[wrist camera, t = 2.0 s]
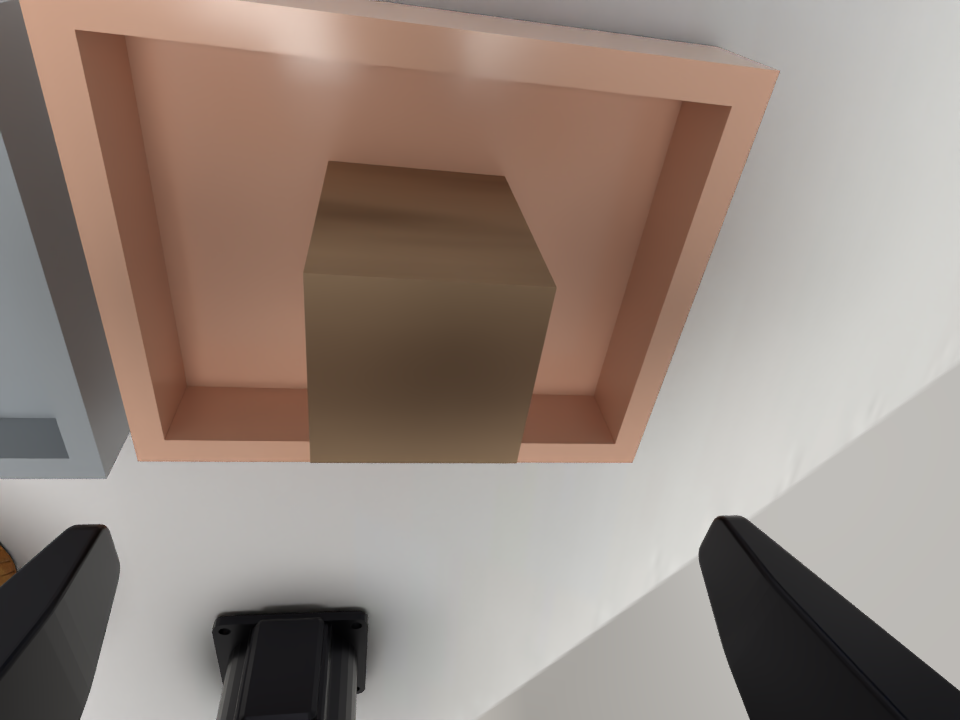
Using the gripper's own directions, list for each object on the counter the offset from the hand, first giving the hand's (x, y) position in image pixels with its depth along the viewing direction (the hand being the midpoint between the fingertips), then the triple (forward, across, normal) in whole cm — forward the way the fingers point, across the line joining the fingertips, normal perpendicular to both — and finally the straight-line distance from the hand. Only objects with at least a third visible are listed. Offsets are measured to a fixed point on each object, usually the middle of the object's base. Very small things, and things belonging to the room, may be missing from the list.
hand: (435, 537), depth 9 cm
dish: (+10, 0, 0) cm, 10 cm away
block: (+10, 0, 0) cm, 10 cm away
